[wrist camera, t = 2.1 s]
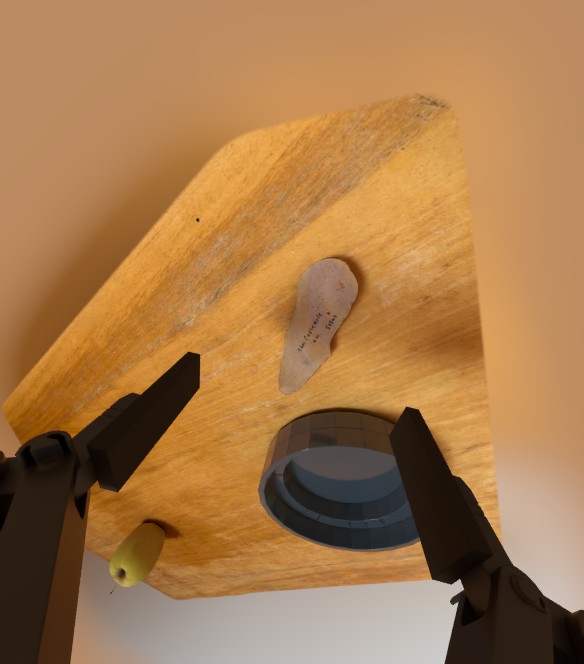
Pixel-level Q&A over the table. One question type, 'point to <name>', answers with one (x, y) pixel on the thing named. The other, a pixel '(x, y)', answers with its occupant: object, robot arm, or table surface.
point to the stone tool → (316, 320)
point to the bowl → (338, 483)
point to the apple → (137, 554)
